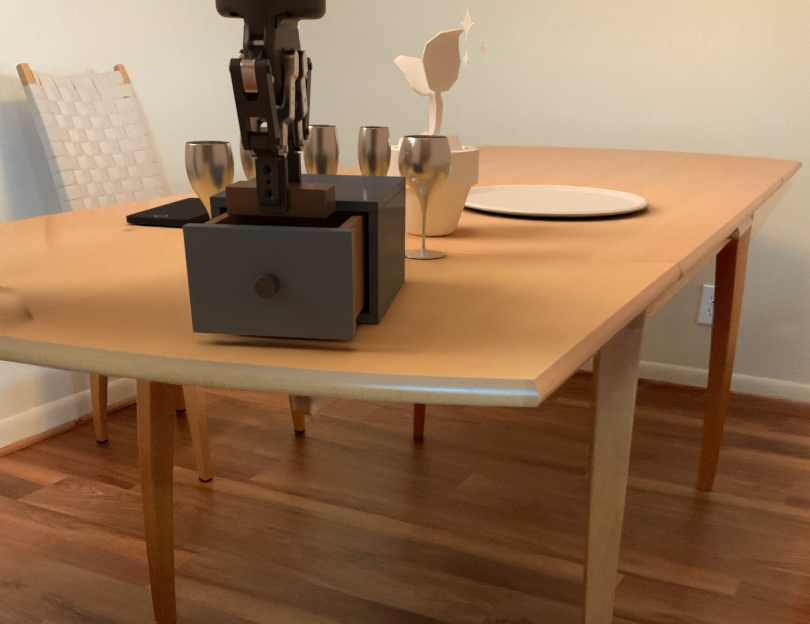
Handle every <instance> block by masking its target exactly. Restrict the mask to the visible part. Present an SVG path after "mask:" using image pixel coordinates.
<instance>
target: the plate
mask: <svg viewBox="0 0 810 624" xmlns="http://www.w3.org/2000/svg"><path fill="white" fill-rule="evenodd" d="M649 206H650V202H649V200H648V199H647V198H645V197H643V196H641V195H639V194H636V193H631V192H627V191H622V190H615V189H609V188H601V187H592V186H581V185H579V186H578V185H566V184H565V185H563V184H496V185H485V186H484V185H483V186H476V187H471V188H470V190H469V193H468V196H467V199H466V202H465V205H464V208H468V209H474V210H479V211H484V212H488V213H493V214H499V215H508V216H515V217H516V216H517V217H528V218H547V219H548V218H549V219H551V218H552V219H581V218H598V217H607V216H615V215H621V214H629V213H633V212H638V211H642V210H644V209H645V208H648V207H649Z"/></svg>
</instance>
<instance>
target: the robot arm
mask: <svg viewBox="0 0 810 624" xmlns="http://www.w3.org/2000/svg"><path fill="white" fill-rule="evenodd" d="M214 3H215V9H216V12H217V13H218V15H219V16H221V17H222V18H226V19H227V18H228V19H240V20H241V19H242V20H243V36H242V48H240V49H239V51H238V52H239V53H238V57H231V58H230V60H229V65H228V73H229V74H230V80H231V84H232V85H231V87H232V91H233V99H234V104H235V110H236V116H237V122H238V127H239V135H240V134H241V142H242V145H243V149H244V150H250V153H251V156H252V157H257V158H256V159H255V170H256V187H257V204H258V209H259V211H260V212H262V213H265V214H283V213H285V212H287V211H288V209H289V193H288V189H289V187H288V182H298V183H302V177H301V174H302V155H301V152H303V147H304V145H305V142H304V140H308V136H309V125H310V115H311V114H310V111H311V109H310V108H311V90H312V89H311V87H312V70H313V63H312V59H311V57H309V56H308V55H307V52H306V50H305V49H302V46H301V39H300V31H299V28H298V26H299V22H300V21H304V20H305V21H309V20H311V21H314V20H320V19H322V18H323V17H324V16H325V15H326V12H327V0H214ZM307 56H308V57H307ZM264 123H266V127H267V131H261V127H262V124H264Z"/></svg>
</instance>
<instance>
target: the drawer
mask: <svg viewBox="0 0 810 624" xmlns="http://www.w3.org/2000/svg"><path fill="white" fill-rule="evenodd" d="M368 213H369V212H349V211H335V212H333V213H332V214H331V215H330V216H328V217H327V218H325V219H323V218H296V217H268V216H241V215H228V214H227V212H226V213H224V214H222V215H220V216H218V217H216V218H214V219H212V220H210V219H209V220H208V221H206V222H204V223H188V224H186V225H183V226H182V227H181V228H182V237H183V246H184V257H185V265H186V276H187V277H186V278H187V285H188V295H189V304H190V305H189V306H190V316H191V325H192V333H196V334H214V335H215V334H216V335H233V336H234V335H235V336H237V335H238V336H258V337H278V338H279V337H281V338H296V339H297V338H298V339H299V338H300V339H320V340H321V339H322V340H342V341H354V339H355V338H356V336H357V323H356V317H357V316H358V315H359V313H360V312H361V310H362V309H363V307H364V306H365V305H366V303H367V302H368V300H369V235H368Z"/></svg>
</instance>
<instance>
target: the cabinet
mask: <svg viewBox="0 0 810 624" xmlns="http://www.w3.org/2000/svg"><path fill="white" fill-rule="evenodd" d="M301 177H302V183H329V184H335V211H349V212H369V213H368V235H369V300H368V302H367V303H366V305H365V306H364V307H363V309H362V310H361V312H360V313H359V315H358V316H357V317H356V324H369V325H370V324H371V325H379V323H380V322H381V321H382V319H383V317H384V315H385V314H386V312H387V310H388V309H389V307H390V306H391V304H392V302H393V300H394V299H395V297H396V295H397V294H398V292H399V291H400V289H401V287H402V286H403V284H404V282H405V281H406V257H405V252H406V231H405V213H406V177H400V176H363V175H362V174H360V175H359V174H358V175H357V174H356V175H355V174H337V175H326V174H307V173H301ZM246 181H256V177H254V178H252V179H250V180H247V179H246ZM210 207H211V208H210V209H211V220H212V219H214V218H216V217H218V216H220V215H222V214H224V213H226V212H227V204H226V190H224V191H222V192H220V193H217V194H215V195H213V196H210Z"/></svg>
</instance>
